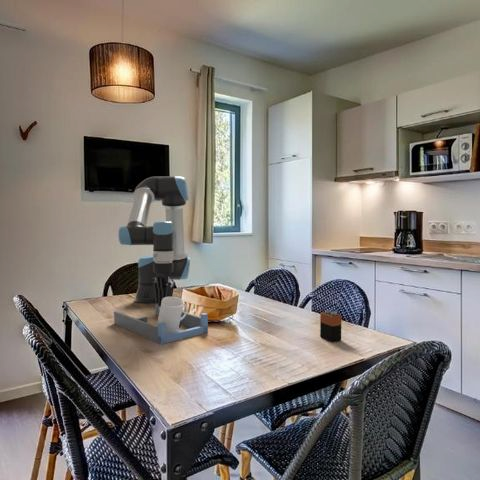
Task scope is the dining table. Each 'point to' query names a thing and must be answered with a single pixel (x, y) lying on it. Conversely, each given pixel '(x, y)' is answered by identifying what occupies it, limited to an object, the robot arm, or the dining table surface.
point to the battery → (330, 326)
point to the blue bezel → (184, 333)
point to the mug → (171, 313)
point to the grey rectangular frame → (147, 329)
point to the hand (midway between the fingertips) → (163, 322)
